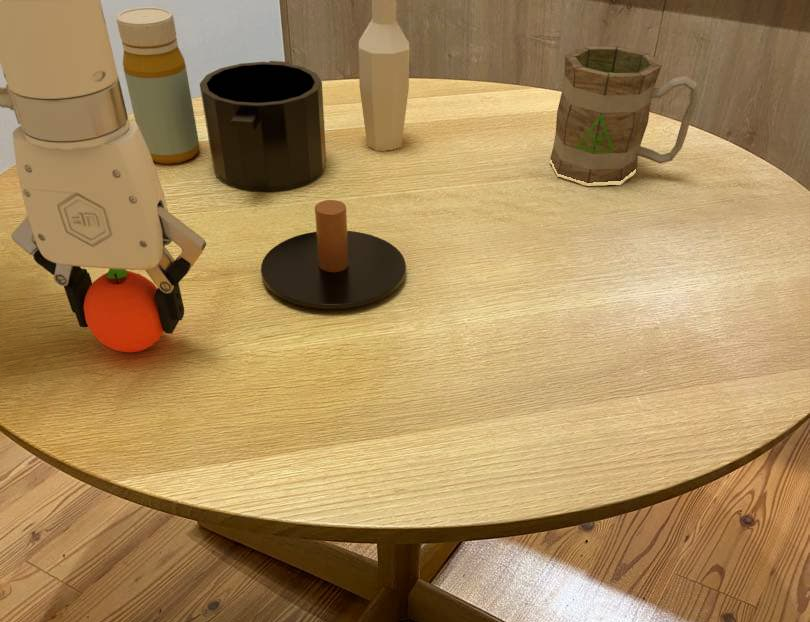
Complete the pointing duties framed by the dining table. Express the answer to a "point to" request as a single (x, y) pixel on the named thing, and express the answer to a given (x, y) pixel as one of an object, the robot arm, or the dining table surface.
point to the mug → (610, 113)
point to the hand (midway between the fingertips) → (131, 320)
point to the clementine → (123, 311)
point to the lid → (333, 264)
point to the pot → (265, 125)
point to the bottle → (158, 84)
